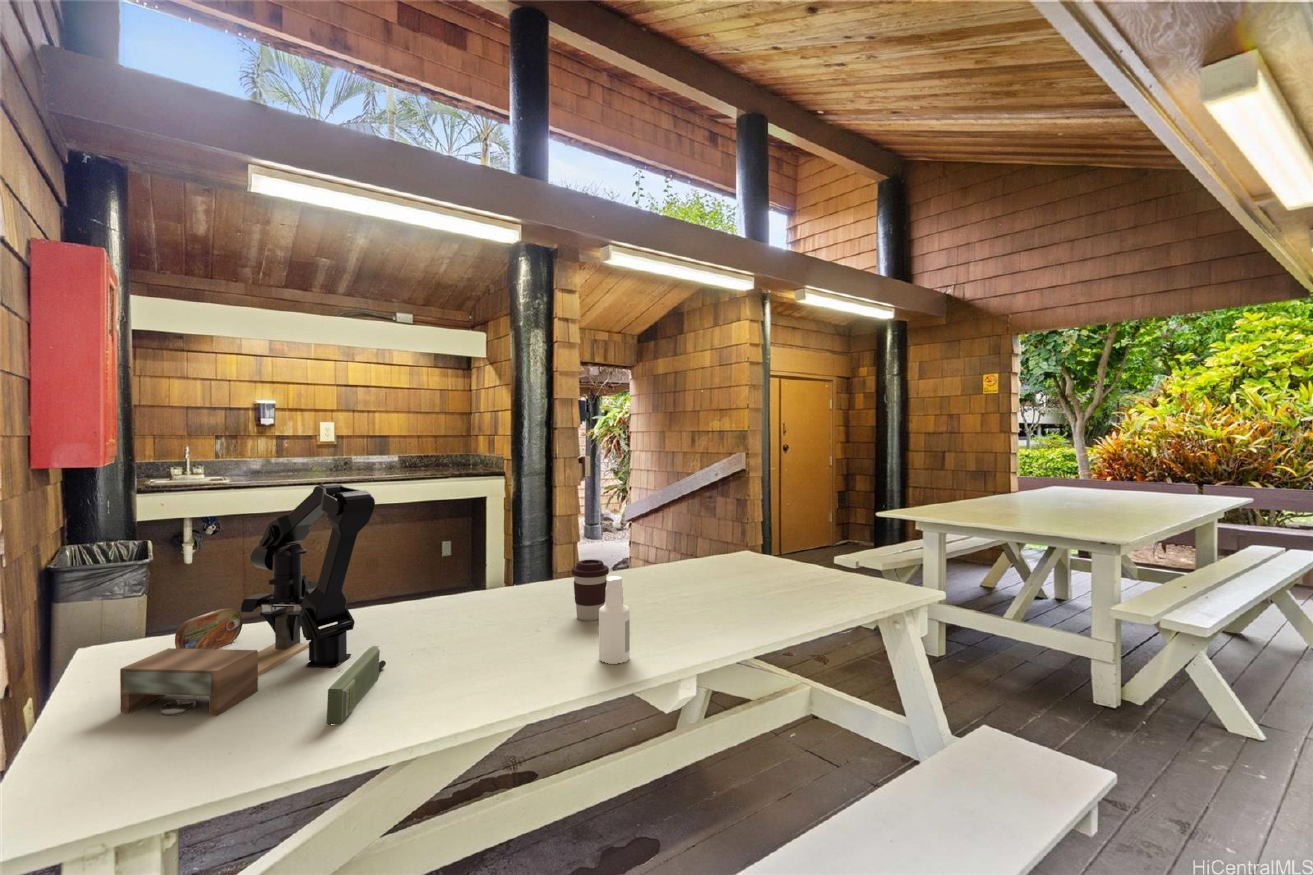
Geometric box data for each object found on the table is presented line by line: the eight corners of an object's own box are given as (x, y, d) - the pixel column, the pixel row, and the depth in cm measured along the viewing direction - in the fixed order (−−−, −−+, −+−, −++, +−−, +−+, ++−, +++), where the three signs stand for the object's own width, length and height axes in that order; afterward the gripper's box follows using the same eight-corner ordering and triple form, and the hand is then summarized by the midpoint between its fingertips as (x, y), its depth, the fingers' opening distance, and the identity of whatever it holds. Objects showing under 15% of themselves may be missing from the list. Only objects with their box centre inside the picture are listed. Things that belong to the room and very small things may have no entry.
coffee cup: (606, 623, 158) (606, 566, 157) (569, 623, 158) (569, 566, 157) (610, 611, 167) (610, 558, 167) (574, 611, 168) (574, 557, 167)
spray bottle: (636, 658, 133) (636, 577, 133) (613, 667, 128) (613, 583, 128) (615, 650, 138) (615, 572, 138) (592, 659, 133) (592, 578, 133)
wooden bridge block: (257, 691, 116) (257, 650, 116) (216, 716, 106) (216, 671, 106) (168, 689, 117) (168, 648, 117) (119, 714, 107) (118, 669, 107)
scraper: (311, 645, 141) (311, 611, 141) (240, 686, 119) (240, 645, 119) (278, 644, 141) (278, 610, 141) (201, 685, 119) (201, 645, 119)
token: (202, 705, 111) (202, 698, 111) (180, 718, 106) (180, 711, 106) (176, 704, 111) (176, 698, 111) (153, 717, 106) (153, 710, 106)
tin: (183, 662, 131) (183, 623, 131) (171, 661, 132) (171, 622, 132) (243, 638, 146) (243, 604, 146) (232, 637, 146) (232, 603, 146)
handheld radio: (322, 727, 103) (374, 669, 128) (343, 727, 103) (390, 669, 128) (324, 688, 103) (375, 637, 128) (344, 688, 103) (391, 638, 128)
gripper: (346, 565, 146) (346, 629, 146) (272, 564, 147) (272, 628, 147) (318, 576, 135) (319, 645, 135) (238, 575, 136) (239, 644, 136)
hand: (288, 640), depth 139 cm, fingers closed on scraper, 2 cm apart
